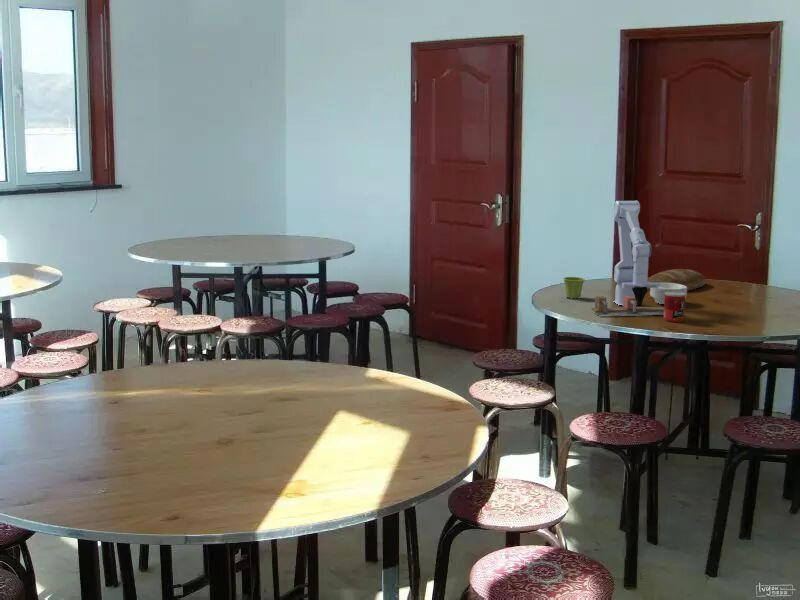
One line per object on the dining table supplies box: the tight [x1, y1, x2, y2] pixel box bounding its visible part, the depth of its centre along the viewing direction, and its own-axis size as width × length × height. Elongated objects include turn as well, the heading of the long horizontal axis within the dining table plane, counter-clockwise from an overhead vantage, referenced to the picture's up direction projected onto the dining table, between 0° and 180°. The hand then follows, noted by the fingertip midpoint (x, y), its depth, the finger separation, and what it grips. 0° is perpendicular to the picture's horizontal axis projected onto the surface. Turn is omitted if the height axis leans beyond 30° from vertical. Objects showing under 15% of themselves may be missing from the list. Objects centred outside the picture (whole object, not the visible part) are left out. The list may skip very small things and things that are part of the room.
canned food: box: [663, 291, 686, 323], centre depth 390 cm, size 8×8×11 cm
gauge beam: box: [591, 295, 664, 312], centre depth 404 cm, size 10×30×6 cm, turn 96°
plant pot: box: [562, 276, 585, 299], centre depth 437 cm, size 9×9×9 cm
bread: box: [647, 268, 707, 292], centre depth 465 cm, size 22×37×8 cm, turn 137°
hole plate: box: [595, 311, 664, 317], centre depth 401 cm, size 6×30×1 cm, turn 96°
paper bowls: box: [649, 283, 688, 305], centre depth 425 cm, size 15×15×8 cm
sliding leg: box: [622, 296, 637, 312], centre depth 404 cm, size 10×3×5 cm, turn 6°
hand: (639, 305), depth 407 cm, fingers closed
